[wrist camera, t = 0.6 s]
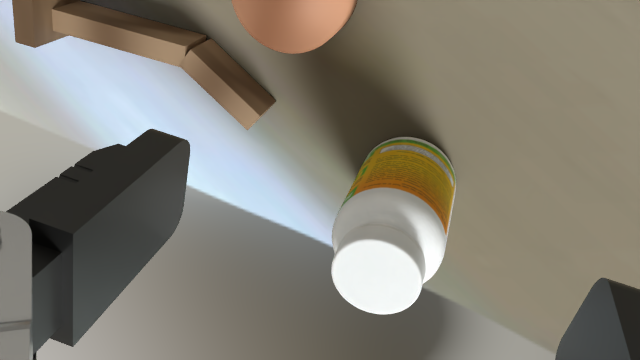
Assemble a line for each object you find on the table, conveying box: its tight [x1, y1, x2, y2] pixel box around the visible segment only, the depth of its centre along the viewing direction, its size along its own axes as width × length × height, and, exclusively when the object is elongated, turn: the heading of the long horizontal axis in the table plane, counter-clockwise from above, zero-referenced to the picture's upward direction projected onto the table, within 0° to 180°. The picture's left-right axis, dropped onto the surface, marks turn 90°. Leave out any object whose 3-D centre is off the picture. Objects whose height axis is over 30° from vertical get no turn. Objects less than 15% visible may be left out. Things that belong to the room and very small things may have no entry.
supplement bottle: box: [331, 137, 456, 314], centre depth 29 cm, size 5×5×10 cm
